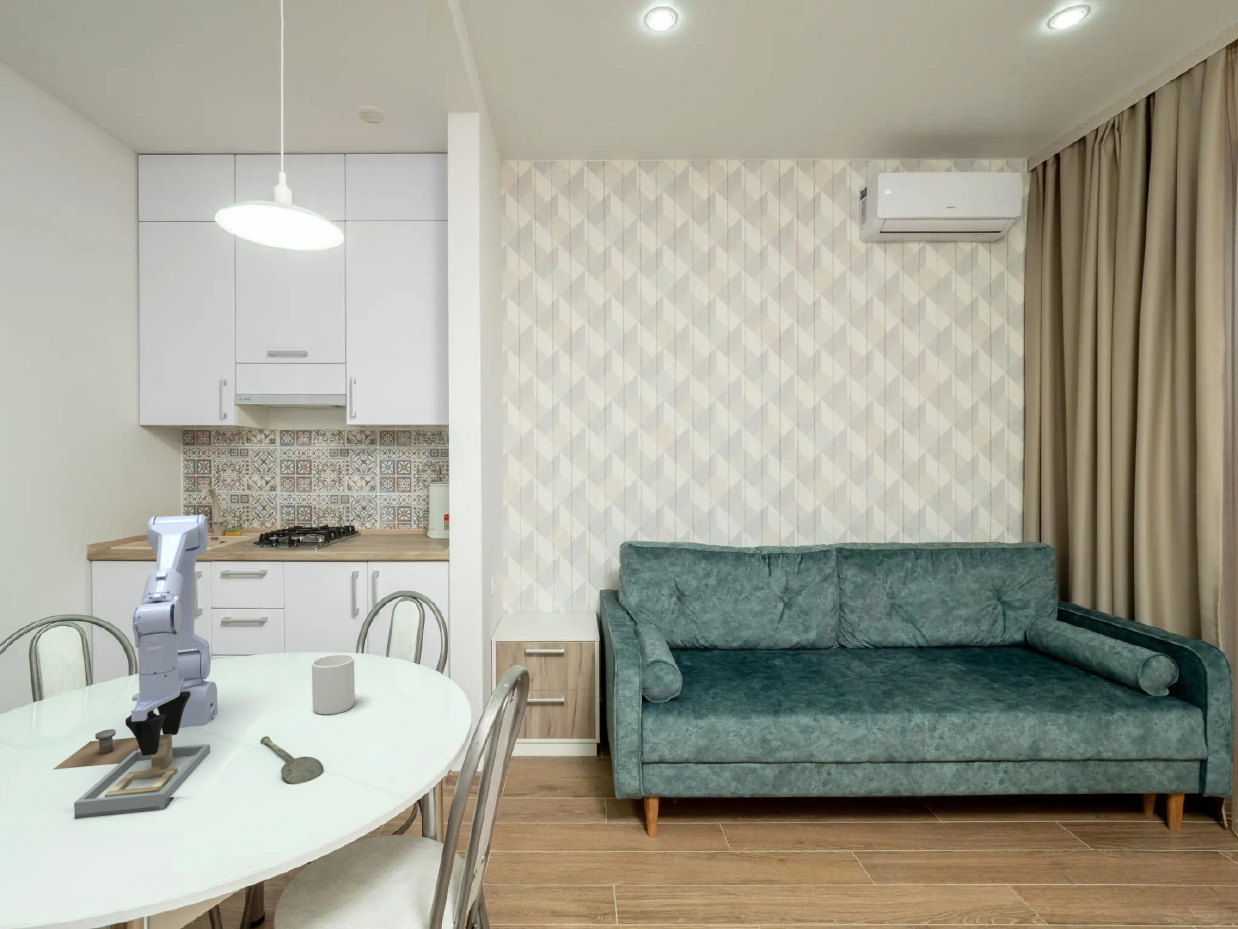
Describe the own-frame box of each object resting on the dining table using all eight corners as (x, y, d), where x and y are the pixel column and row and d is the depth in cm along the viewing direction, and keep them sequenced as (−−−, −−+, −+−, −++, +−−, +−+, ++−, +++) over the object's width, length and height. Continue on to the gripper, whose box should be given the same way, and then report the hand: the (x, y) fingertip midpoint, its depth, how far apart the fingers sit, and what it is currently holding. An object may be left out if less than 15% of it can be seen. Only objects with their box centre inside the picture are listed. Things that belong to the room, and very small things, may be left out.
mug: (349, 692, 153) (349, 647, 152) (357, 710, 142) (356, 662, 142) (309, 699, 148) (308, 653, 148) (314, 719, 138) (313, 669, 138)
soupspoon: (290, 795, 110) (328, 782, 115) (290, 776, 110) (329, 763, 115) (247, 749, 125) (283, 739, 130) (247, 732, 125) (283, 722, 130)
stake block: (153, 741, 128) (153, 718, 128) (123, 768, 117) (122, 743, 117) (90, 746, 126) (89, 723, 125) (53, 774, 115) (52, 749, 115)
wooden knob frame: (156, 797, 106) (155, 764, 106) (104, 802, 105) (103, 769, 105) (189, 762, 118) (188, 732, 118) (143, 766, 117) (142, 736, 116)
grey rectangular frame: (210, 757, 121) (209, 744, 121) (164, 809, 104) (163, 794, 104) (134, 764, 119) (134, 750, 119) (74, 818, 101) (74, 802, 101)
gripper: (154, 657, 121) (155, 728, 122) (109, 686, 107) (112, 766, 108) (195, 655, 123) (197, 725, 123) (157, 682, 109) (159, 762, 109)
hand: (160, 744), depth 116 cm, fingers open, 7 cm apart
